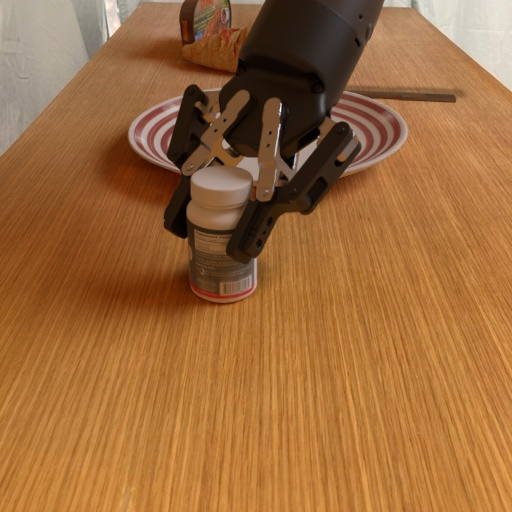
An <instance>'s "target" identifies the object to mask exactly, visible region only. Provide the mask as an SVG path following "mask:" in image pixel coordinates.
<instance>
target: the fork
mask: <svg viewBox="0 0 512 512" xmlns="http://www.w3.org/2000/svg"><path fill="white" fill-rule="evenodd" d="M344 91H348V92H352V93H356V94H359V95H362V96H366V97H368V98H371V99H392V100H393V99H395V100H397V99H398V100H401V101H423V102H443V103H444V102H446V103H457V97H456V96H455V94H452V93H428V92H426V93H424V92H399V91H379V90H378V91H376V90H354V89H353V90H351V89H345V90H344Z"/></svg>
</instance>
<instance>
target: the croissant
mask: <svg viewBox="0 0 512 512" xmlns="http://www.w3.org/2000/svg"><path fill="white" fill-rule="evenodd" d="M254 21H255V20H253V21H252V22H250V23H248V25H247V26H245V27H231V28H229V29H224V30H222V31H221V32H219V33H218V34H215V35H213V36H207V37H202V38H199V39H198V40H196V41H195V42H194V43H193V44H188V45H184V47H183V46H182V49H181V53H182V57H184V58H185V59H186V60H187V61H189V62H191V63H192V64H195V65H199V66H202V67H205V68H210V69H215V70H219V71H223V72H228V73H233V74H235V73H236V71H237V66H238V57H239V51H240V49H241V47H242V45H243V43H244V41H245V39H246V37H247V35H248V33H249V31H250V29H251V27H252V25H253V23H254Z"/></svg>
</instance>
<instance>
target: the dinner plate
mask: <svg viewBox="0 0 512 512" xmlns="http://www.w3.org/2000/svg"><path fill="white" fill-rule="evenodd" d="M222 87H223V86H222ZM222 87H216V88H215V87H214V88H209V89H208V88H207V89H204V90H202V89H201V90H202V91H220V90H221V88H222ZM183 95H184V94H181V95H178V96H175V97H172V98H169V99H166V100H164V101H161V102H159V103H157V104H155V105H153V106H151V107H149V108H147V109H145V110H144V111H142V112H141V113H140V114H138V116H137V117H135V118H134V120H132V122H131V123H130V125H129V127H128V129H127V142H128V145H129V146H130V148H131V149H132V150H133V151H134V152H135V153H136V154H137V155H138V156H139V157H140V158H142V159H144V160H146V161H147V162H149V163H151V164H153V165H156V166H157V167H160V168H163V169H166V170H169V171H171V172H174V173H177V174H179V175H181V171H180V170H179V169H178V168H177V167H176V166H175V165H174V164H173V163H172V162H171V161H170V160H169V159H168V158H167V151H168V147H169V144H170V140H171V137H172V133H173V130H174V126H175V123H176V119H177V116H178V112H179V109H180V105H181V102H182V98H183ZM219 116H220V111H219V112H218V113H217V115H216V117H215V118H216V119H217V118H218V117H219ZM331 119H332V120H333V121H335V122H337V123H338V122H341V121H344V122H347V123H348V124H349V126H350V127H351V128H352V129H353V131H354V132H355V134H356V136H357V137H358V140H359V141H360V143H361V145H362V148H361V151H360V152H359V154H358V155H357V156H356V157H355V159H354V160H353V161H352V163H351V164H350V165H349V166H348V168H347V169H346V170H345V171H344V173H343V174H342V175H341V176H340V178H339V179H341V178H343V177H347V176H350V175H354V174H356V173H359V172H363V171H364V170H367V169H370V168H371V167H374V166H376V165H377V164H380V163H382V162H383V161H385V160H387V158H389V157H391V156H392V155H394V154H395V153H396V152H397V151H399V149H400V148H402V146H403V145H404V143H405V142H406V140H407V138H408V134H409V129H408V125H407V123H406V121H405V120H404V118H403V117H402V115H401V114H400V113H398V112H397V111H396V110H395V109H393V108H391V106H388V105H387V104H385V103H382V102H381V101H378V100H377V99H375V98H368V97H366V96H362V95H359V94H356V93H352V92H348V91H344V92H343V94H342V96H341V98H340V100H339V102H338V103H337V104H336V105H335V106H334V107H333V108H332V110H331ZM211 125H212V123H211ZM211 125H210V126H211ZM317 140H318V139H317ZM317 140H315V141H314V142H312V143H311V144H309V145H308V146H307V147H305V148H304V149H302V150H301V151H300V153H299V159H298V166H297V171H298V170H299V169H300V167H301V166H302V165H303V164H304V162H305V161H306V160H307V159H308V157H309V156H310V155H311V154H312V152H313V151H314V150H315V149H316V147H317V145H316V144H317ZM222 147H223V148H224V149H227V148H229V147H230V145H229V144H228V143H227V142H226V141H225V139H224V140H223V142H222ZM212 160H213V158H212ZM212 160H211V161H212ZM211 161H210V162H211ZM210 162H209V163H210ZM209 163H208V164H209ZM208 164H207V165H208ZM207 165H206V166H207ZM206 166H205V167H204V168H206ZM236 167H239V168H243V169H245V170H247V171H248V172H250V173H251V174H252V177H253V188H257V183H258V176H259V165H258V158H248V157H244V158H243V159H242V161H241V162H240V163H239V164H238V165H237V166H236Z"/></svg>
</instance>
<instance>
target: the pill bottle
mask: <svg viewBox="0 0 512 512" xmlns="http://www.w3.org/2000/svg"><path fill="white" fill-rule="evenodd" d="M254 192H255V191H254V187H253V177H252V174H251V173H250V172H248V171H247V170H245V169H243V168H239V167H234V166H211V167H206V168H203V169H200V170H198V171H196V172H195V173H194V174H193V175H192V176H191V198H192V200H191V201H190V202H189V204H188V206H187V213H186V215H187V234H188V237H187V251H188V252H187V253H188V271H189V284H190V286H189V287H190V289H191V290H192V292H193V293H194V294H195V295H196V296H197V297H199V298H201V299H203V300H205V301H208V302H212V303H217V304H229V303H234V302H239V301H242V300H244V299H246V298H248V297H249V296H250V295H252V294H253V293H254V292H255V291H256V288H257V286H258V278H259V277H258V275H259V274H258V271H259V270H258V269H259V268H258V263H259V262H258V257H259V255H258V256H257V257H256V258H255V259H254V258H252V259H251V261H250V262H249V263H248V264H246V265H245V264H242V263H240V262H237V261H235V260H234V259H233V258H231V257H230V256H228V255H227V254H226V246H227V244H228V242H229V240H230V238H231V236H232V234H233V232H234V230H235V228H236V226H237V224H238V222H239V220H240V218H241V216H242V214H243V212H244V210H245V208H246V206H247V204H248V202H249V200H252V201H255V200H254V199H253V196H254V194H255V193H254Z"/></svg>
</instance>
